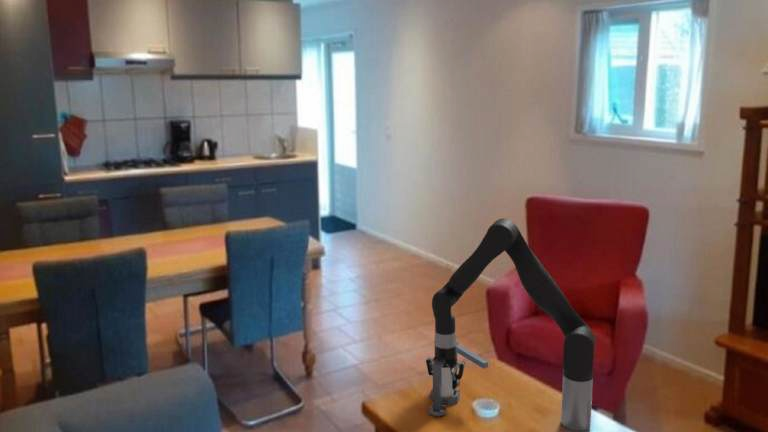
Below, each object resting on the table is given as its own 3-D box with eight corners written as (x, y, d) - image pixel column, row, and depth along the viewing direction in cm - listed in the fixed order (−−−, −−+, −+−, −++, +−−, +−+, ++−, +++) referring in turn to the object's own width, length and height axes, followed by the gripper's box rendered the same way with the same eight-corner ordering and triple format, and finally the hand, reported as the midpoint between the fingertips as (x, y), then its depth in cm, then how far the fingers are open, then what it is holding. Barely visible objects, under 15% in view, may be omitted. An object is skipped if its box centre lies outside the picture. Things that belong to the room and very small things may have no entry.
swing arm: (445, 347, 232) (445, 342, 231) (454, 345, 234) (454, 340, 233) (481, 369, 214) (481, 364, 214) (490, 366, 216) (490, 361, 216)
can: (452, 400, 219) (452, 368, 217) (434, 398, 220) (434, 367, 218) (454, 391, 225) (454, 360, 223) (436, 389, 227) (436, 359, 224)
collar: (462, 393, 226) (462, 387, 225) (455, 407, 217) (455, 400, 216) (435, 389, 229) (435, 383, 229) (427, 402, 220) (427, 396, 220)
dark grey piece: (449, 407, 217) (449, 359, 213) (443, 418, 210) (443, 369, 206) (432, 404, 219) (432, 356, 215) (426, 415, 212) (425, 366, 208)
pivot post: (461, 381, 236) (461, 347, 233) (458, 387, 231) (458, 353, 228) (448, 379, 237) (448, 346, 234) (445, 385, 233) (445, 351, 230)
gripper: (467, 341, 220) (467, 385, 223) (428, 336, 225) (429, 379, 228) (462, 350, 213) (462, 395, 216) (422, 344, 218) (423, 389, 221)
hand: (445, 387), depth 222 cm, fingers closed on can, 5 cm apart
